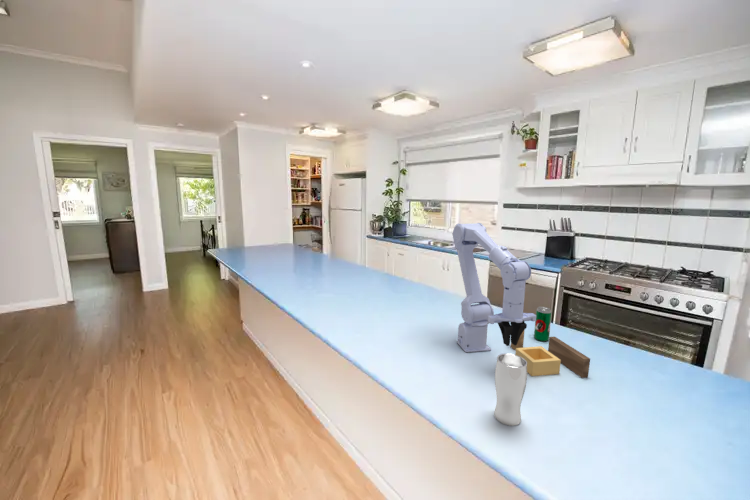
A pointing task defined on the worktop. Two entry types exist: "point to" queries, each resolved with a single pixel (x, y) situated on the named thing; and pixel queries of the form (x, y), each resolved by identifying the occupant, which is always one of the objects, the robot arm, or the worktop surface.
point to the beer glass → (510, 388)
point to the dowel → (519, 342)
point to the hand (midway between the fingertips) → (510, 344)
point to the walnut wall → (569, 357)
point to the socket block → (539, 361)
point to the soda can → (542, 324)
